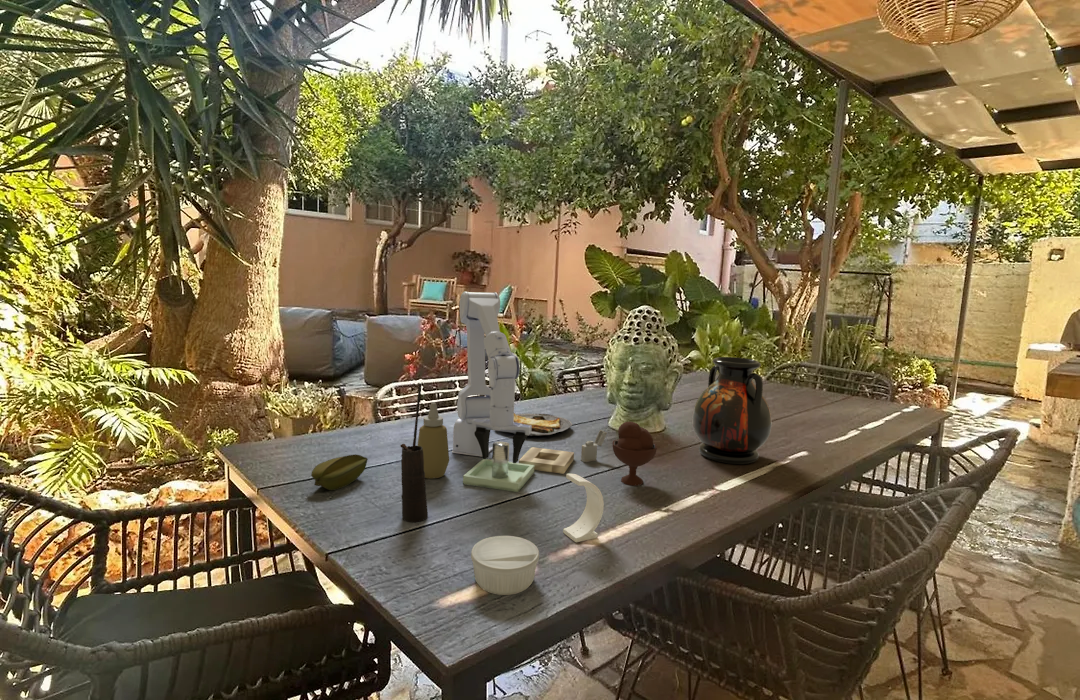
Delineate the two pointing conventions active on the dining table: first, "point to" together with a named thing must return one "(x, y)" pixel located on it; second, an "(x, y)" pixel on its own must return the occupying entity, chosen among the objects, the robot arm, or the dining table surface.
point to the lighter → (592, 447)
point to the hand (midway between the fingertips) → (500, 460)
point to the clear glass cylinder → (500, 460)
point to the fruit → (339, 471)
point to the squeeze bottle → (434, 444)
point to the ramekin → (504, 564)
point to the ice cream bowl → (633, 450)
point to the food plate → (543, 423)
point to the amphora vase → (732, 413)
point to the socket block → (548, 459)
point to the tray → (513, 482)
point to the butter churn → (413, 478)
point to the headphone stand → (586, 512)
